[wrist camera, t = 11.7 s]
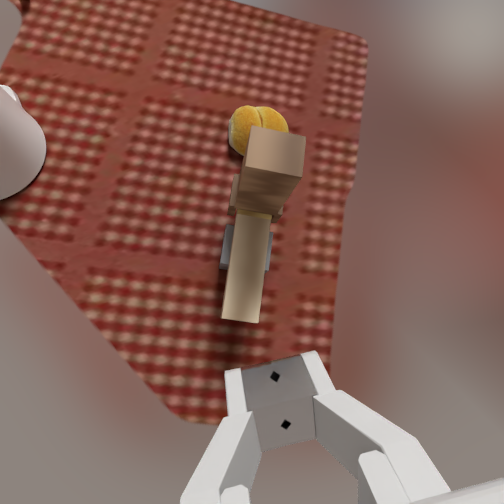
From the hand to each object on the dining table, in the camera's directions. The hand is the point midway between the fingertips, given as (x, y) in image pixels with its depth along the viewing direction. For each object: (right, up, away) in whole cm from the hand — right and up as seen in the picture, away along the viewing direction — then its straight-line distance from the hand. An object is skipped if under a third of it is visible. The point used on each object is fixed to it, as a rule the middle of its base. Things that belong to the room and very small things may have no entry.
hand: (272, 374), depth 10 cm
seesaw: (-2, +4, +32) cm, 32 cm away
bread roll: (0, +21, +37) cm, 42 cm away
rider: (0, +10, +29) cm, 30 cm away
